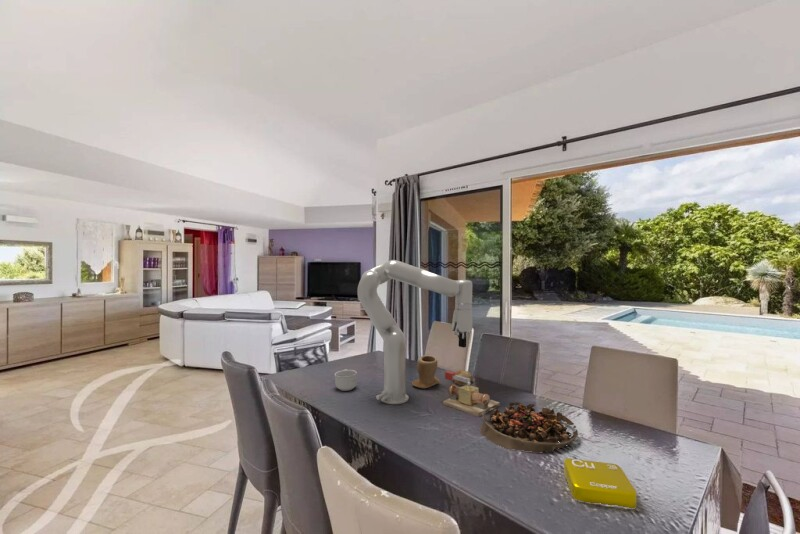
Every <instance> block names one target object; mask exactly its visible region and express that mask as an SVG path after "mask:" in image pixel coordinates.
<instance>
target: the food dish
mask: <svg viewBox="0 0 800 534" xmlns="http://www.w3.org/2000/svg"><path fill="white" fill-rule="evenodd" d="M498 405H499V406H500V404H497V405H494V406H492V407H491V408H494V407H497V406H498ZM499 406H498V407H499ZM514 406H516V408H515V407H514ZM535 406H536V405H535V404H534V403H530V404H529V403H528V405H526V406H525V405H524V404H521V402H519V401H518V402H517V401H512V402H510V403H509V404H508V408H507V407H505V410H504V412H503V413H501V412H500V409H499V408H498V407H497V408H498V409H496V408H495V409H493V413H491V411H490V410H489V409H490V408H488V409H486V410H485V411H488V412H487V413H489V419H488V417H486V416H485V414H486V413H485V412H484V413H485V414H484V413H483V415H482V423H481V426H480V429H479V431H480V434H481V435H482V436H485V438H487V441H489V440H490V441H489V442H491V443H493V444H494V445H495V446H498V445H499V447H500V446H501V447H500V448H503V447H504V448H503V449H505V448H506V449H505V450H507V449H510V450H509V451H512V450H511V449H515V450H514V451H517V450H524V451H532V452H543V451H552V450H553V449H556V450H557V449H558V448H562V447H563V446H566V445H568V446H569V445H570V444H571V443H573V442H574V441H575V440H576V439H577V437H578V436H579V432H578V429H576V428H577V426H576V425H575V423H574V422H572V420H571V419H569V418H568V417H567V416H565V415H563V413H562V412H559V411H558V412H556V414H555V410H554V408H551V409H550V408H547V407H541V408H542V409H541V411H539V412H537V411H536V409H535V408H534V407H535ZM561 422H564V423H566V424H567V425H570V426H573V429H575V430H574V431H572V434H571V432H569V431H567V429H568V427H567V425H566V426H564V424H563V423H562V424H561ZM569 434H571V435H572V436H569ZM558 441H559V442H560V443H559V442H558ZM563 448H564V447H563ZM563 448H562V449H563ZM558 450H559V449H558ZM553 451H554V450H553ZM553 451H552V452H553ZM532 452H531V453H532ZM543 453H544V452H543Z"/></svg>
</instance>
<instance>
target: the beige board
mask: <svg viewBox="0 0 800 534" xmlns="http://www.w3.org/2000/svg"><path fill="white" fill-rule="evenodd" d="M442 402H443V403H442V405H445V406H447V407H450V408H453V409H456V410H457V411H458V410H459V411H462V412H464V413H467V414H468V415H473V416H476V417H481V416H483V413H484V412H485V413H484V415H485V414H487V413H489V412H488V411H485V410H486V409H488V408H490V409H489V410H490V412H491V411H494V410H496V408H498V407H500V402H499V401H496V400H493V399H490V402H489V404H488V408H486V409H481V408H478V403H475V404H473V405H471V406H470V405H467V404H464V403H461V402H459V399H458V400H453V399H451V397H450V398H447V399H445V400H443V401H442ZM497 404H499V405H498V406H497V407H494V408H491V407H492V406H494V405H497Z"/></svg>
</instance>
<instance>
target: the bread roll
mask: <svg viewBox="0 0 800 534" xmlns="http://www.w3.org/2000/svg"><path fill="white" fill-rule="evenodd" d="M455 373H456V375H459V376H462V377H466V378H470V385H472V383H473V381H474V377H473V375H472V374H471V373H470V372H469V370H463V369H461V370H458V371H455ZM452 382H453V384H454V385H457V386H458V385H459V386H465V385H467V383H465V382H462V381H458V380H453V381H452Z"/></svg>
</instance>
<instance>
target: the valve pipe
mask: <svg viewBox="0 0 800 534" xmlns="http://www.w3.org/2000/svg"><path fill="white" fill-rule="evenodd" d="M448 394H449V395H450V398H451V399H453V400H458V399H459V402H461V403H464V404H467V405H470V406H471V405H473V404H475V403H478V408H481V409H486V408H488V404H489V402H490V400H491V397H490V395H489V394H488V393H480V392H479V387H477V386H473V385H472V384H470V386H467V385H461V386H458V385H457V384H455V383H452V384H450V386H449V387H448Z"/></svg>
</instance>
